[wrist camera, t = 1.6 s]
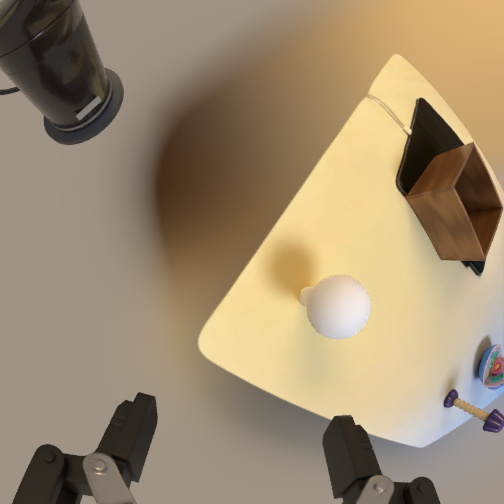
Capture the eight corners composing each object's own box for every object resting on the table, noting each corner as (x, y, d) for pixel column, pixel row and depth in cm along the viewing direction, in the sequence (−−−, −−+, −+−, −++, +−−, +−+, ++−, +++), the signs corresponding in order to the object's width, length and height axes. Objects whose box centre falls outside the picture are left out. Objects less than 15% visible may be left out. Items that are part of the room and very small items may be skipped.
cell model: (490, 331, 42) (519, 338, 33) (491, 364, 43) (517, 372, 34) (470, 360, 40) (501, 371, 31) (471, 392, 42) (498, 403, 32)
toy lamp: (455, 399, 40) (507, 423, 24) (442, 413, 39) (494, 440, 23) (455, 385, 40) (511, 409, 23) (442, 399, 39) (498, 427, 22)
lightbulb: (274, 312, 31) (314, 339, 20) (292, 263, 32) (339, 267, 21) (318, 325, 32) (369, 352, 22) (334, 279, 33) (391, 288, 22)
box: (405, 197, 36) (451, 185, 26) (434, 156, 38) (473, 141, 28) (440, 260, 37) (484, 261, 28) (465, 213, 39) (503, 208, 30)
